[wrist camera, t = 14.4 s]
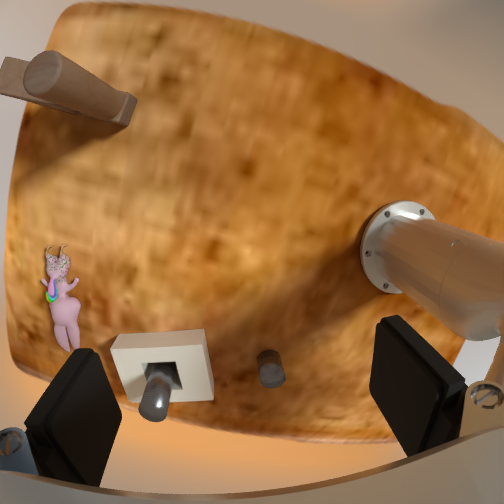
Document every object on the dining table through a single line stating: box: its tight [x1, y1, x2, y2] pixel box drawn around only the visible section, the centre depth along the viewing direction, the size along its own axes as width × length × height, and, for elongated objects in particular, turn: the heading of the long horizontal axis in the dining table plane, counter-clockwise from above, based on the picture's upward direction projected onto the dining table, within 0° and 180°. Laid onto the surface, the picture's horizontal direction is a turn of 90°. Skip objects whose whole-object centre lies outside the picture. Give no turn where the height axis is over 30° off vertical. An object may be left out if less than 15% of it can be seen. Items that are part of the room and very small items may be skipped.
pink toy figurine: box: [41, 243, 81, 352], centre depth 35 cm, size 6×6×15 cm
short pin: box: [257, 350, 285, 388], centre depth 40 cm, size 3×3×4 cm
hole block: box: [110, 329, 214, 402], centre depth 39 cm, size 12×9×4 cm
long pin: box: [138, 361, 177, 422], centre depth 36 cm, size 3×3×11 cm
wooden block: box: [0, 50, 137, 126], centre depth 23 cm, size 4×11×18 cm, turn 70°
